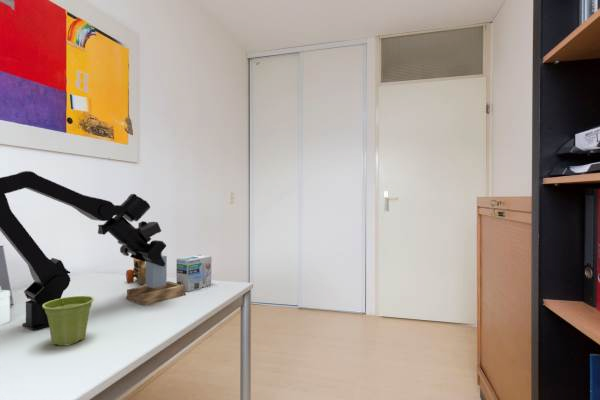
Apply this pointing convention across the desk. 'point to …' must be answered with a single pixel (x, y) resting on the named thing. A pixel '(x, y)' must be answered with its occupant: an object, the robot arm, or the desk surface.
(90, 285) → the desk surface
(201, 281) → the light bulb box
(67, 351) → the desk surface
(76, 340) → the plant pot
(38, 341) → the desk surface
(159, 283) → the box with grey fin
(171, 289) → the cradle
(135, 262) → the toy helicopter
